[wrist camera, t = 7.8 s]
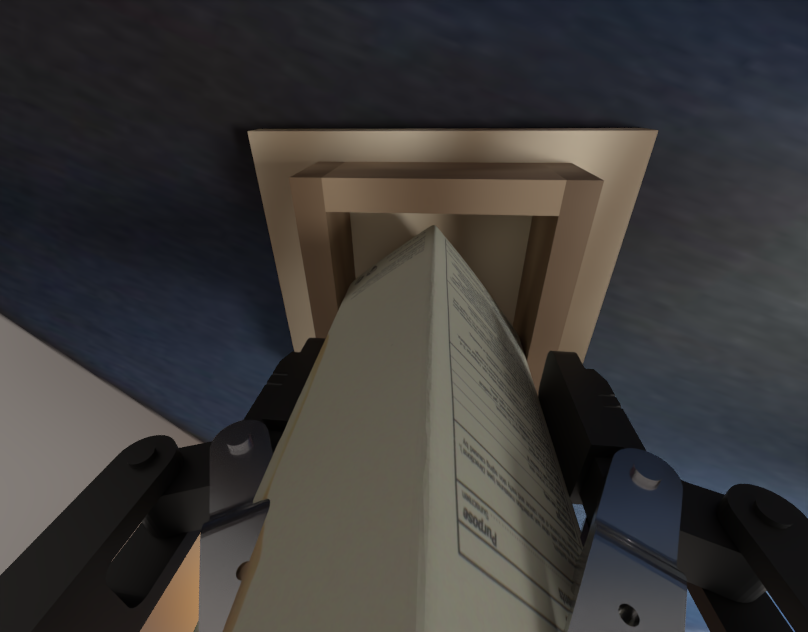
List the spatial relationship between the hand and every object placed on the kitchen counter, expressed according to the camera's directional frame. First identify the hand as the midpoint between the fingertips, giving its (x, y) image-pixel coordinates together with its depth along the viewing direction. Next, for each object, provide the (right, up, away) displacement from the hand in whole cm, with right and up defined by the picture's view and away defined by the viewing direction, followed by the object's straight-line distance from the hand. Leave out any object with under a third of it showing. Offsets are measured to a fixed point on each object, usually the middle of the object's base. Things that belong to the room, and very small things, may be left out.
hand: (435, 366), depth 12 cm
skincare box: (0, +2, +3) cm, 4 cm away
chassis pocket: (0, +3, +5) cm, 6 cm away
